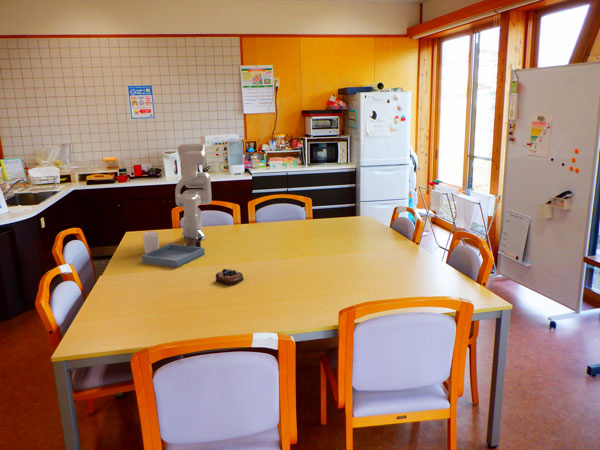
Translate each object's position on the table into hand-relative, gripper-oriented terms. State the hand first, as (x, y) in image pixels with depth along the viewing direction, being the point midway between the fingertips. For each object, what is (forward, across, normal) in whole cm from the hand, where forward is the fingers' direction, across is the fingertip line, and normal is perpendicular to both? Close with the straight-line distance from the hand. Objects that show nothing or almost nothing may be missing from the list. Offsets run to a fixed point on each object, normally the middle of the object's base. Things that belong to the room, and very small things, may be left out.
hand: (193, 246), depth 281 cm
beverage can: (+2, -19, -15) cm, 24 cm away
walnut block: (+1, 0, 0) cm, 1 cm away
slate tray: (+1, 0, -18) cm, 19 cm away
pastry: (+1, +48, -36) cm, 60 cm away
